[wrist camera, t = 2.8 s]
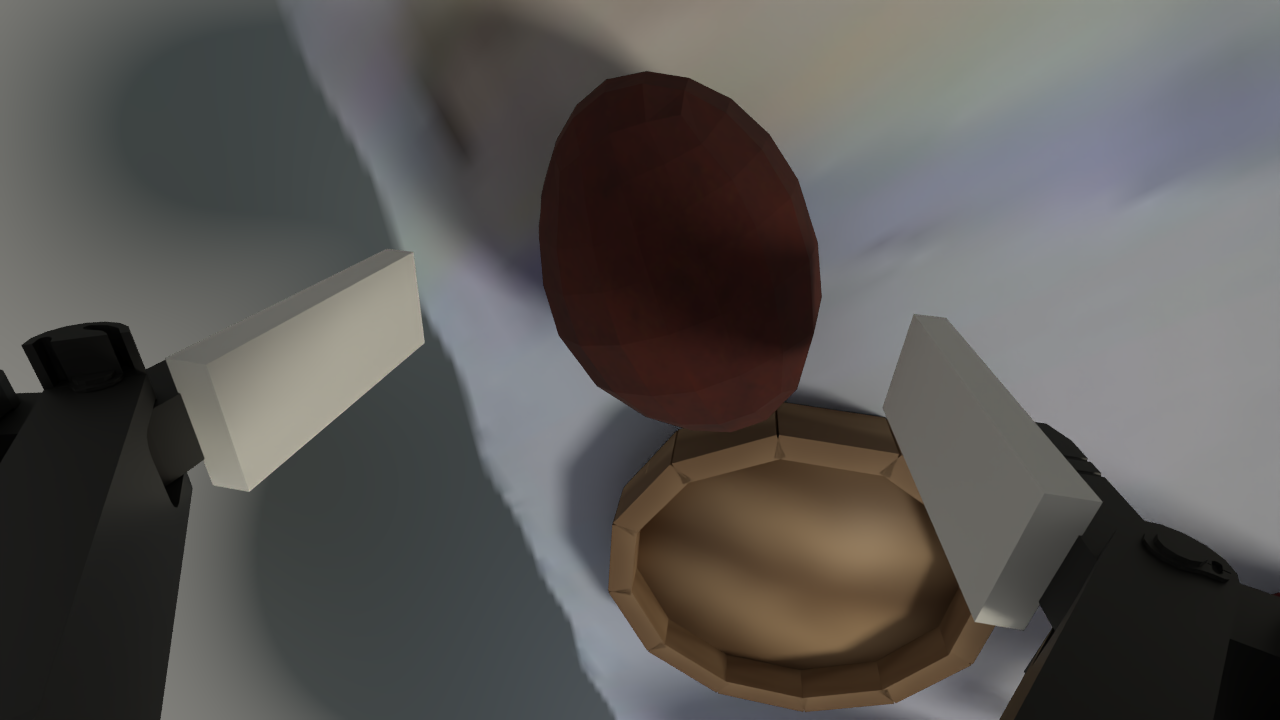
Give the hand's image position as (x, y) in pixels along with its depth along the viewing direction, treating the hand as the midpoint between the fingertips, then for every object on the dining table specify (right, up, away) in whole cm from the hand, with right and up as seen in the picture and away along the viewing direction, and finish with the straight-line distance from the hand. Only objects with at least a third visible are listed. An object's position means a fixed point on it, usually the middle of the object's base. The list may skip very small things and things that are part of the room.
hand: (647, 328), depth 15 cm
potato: (+2, +4, +7) cm, 9 cm away
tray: (+8, -11, +14) cm, 19 cm away
